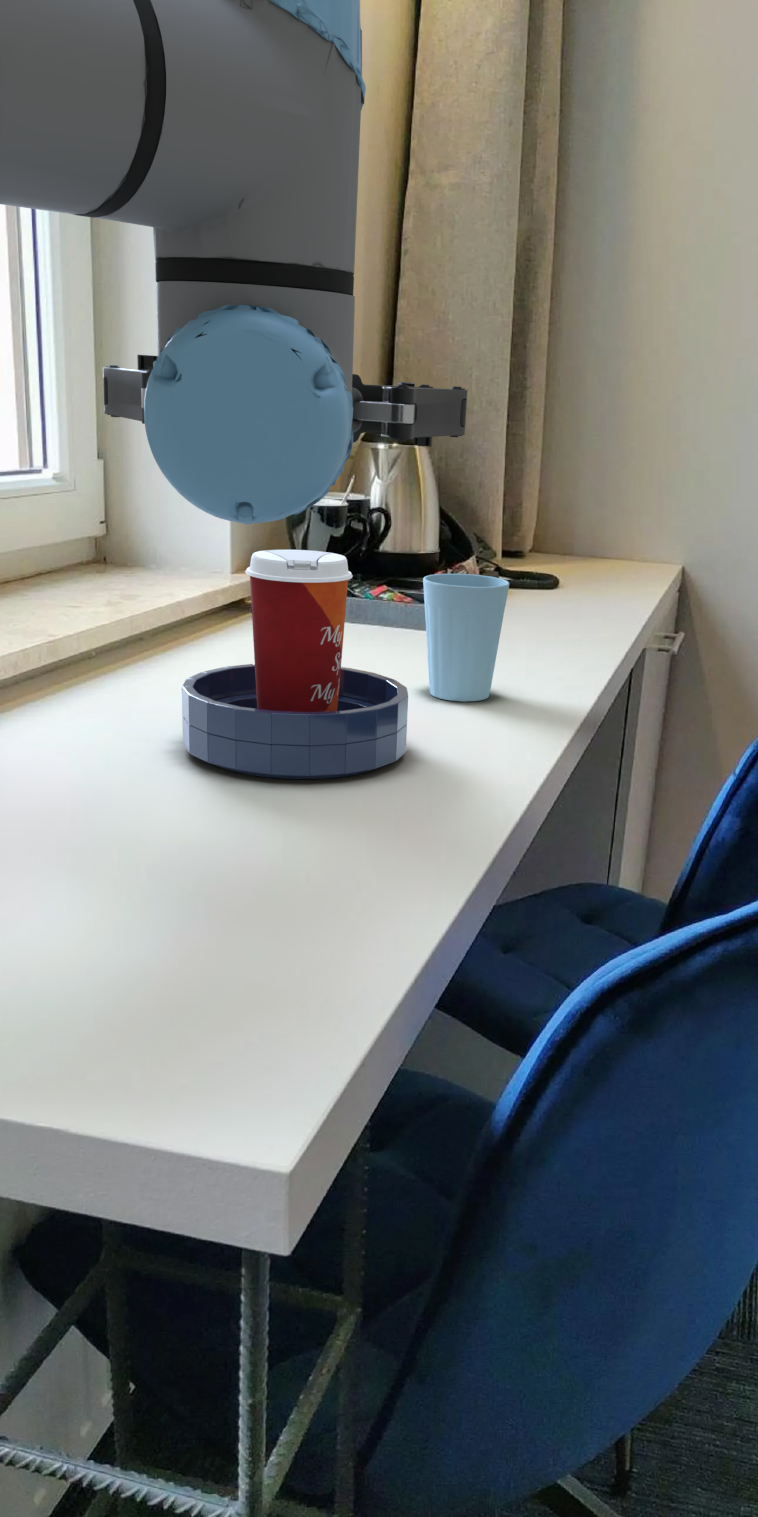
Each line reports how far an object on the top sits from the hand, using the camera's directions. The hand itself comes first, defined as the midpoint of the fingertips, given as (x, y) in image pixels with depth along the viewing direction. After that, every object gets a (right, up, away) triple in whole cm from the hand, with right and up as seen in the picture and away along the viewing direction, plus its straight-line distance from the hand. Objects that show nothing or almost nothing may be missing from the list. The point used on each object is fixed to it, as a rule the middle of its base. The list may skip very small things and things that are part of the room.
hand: (293, 398), depth 80 cm
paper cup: (-2, -20, +18) cm, 27 cm away
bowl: (-2, -20, +18) cm, 27 cm away
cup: (+11, -13, +39) cm, 42 cm away
